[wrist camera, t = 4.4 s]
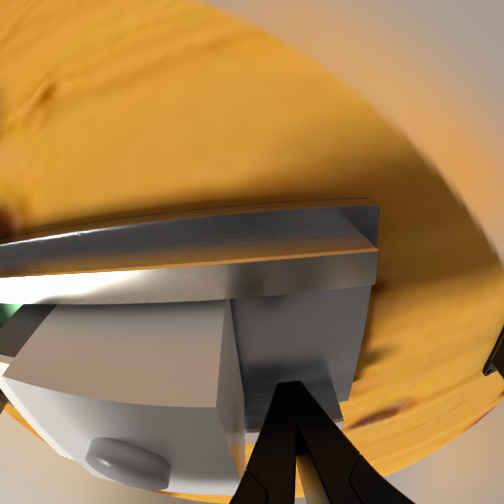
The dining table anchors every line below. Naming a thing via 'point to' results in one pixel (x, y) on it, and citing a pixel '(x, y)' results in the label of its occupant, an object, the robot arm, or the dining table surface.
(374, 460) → the dining table surface
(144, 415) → the knobbed white cube
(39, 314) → the white flat block
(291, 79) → the dining table surface
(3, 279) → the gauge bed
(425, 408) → the dining table surface
